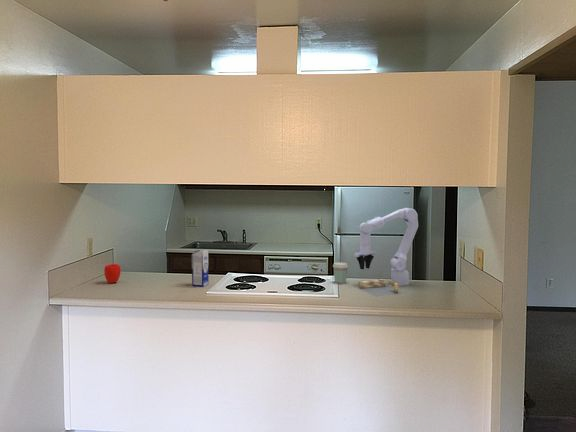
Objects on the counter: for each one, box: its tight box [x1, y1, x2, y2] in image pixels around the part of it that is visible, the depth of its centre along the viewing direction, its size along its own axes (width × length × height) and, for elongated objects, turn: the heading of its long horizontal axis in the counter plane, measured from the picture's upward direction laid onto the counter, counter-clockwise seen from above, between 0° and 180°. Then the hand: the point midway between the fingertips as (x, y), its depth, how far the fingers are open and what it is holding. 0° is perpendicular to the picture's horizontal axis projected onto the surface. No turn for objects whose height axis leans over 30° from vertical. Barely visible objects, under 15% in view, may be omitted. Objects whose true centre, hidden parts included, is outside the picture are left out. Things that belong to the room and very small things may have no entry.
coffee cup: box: [332, 261, 349, 285], centre depth 255 cm, size 8×8×12 cm
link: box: [357, 279, 387, 288], centre depth 244 cm, size 16×4×3 cm, turn 110°
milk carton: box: [191, 249, 210, 288], centre depth 251 cm, size 7×7×20 cm
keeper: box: [388, 280, 399, 295], centre depth 233 cm, size 6×2×5 cm, turn 15°
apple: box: [103, 263, 122, 284], centre depth 257 cm, size 9×9×11 cm
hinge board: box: [353, 285, 407, 297], centre depth 239 cm, size 18×24×1 cm
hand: (364, 268), depth 249 cm, fingers open, 4 cm apart
